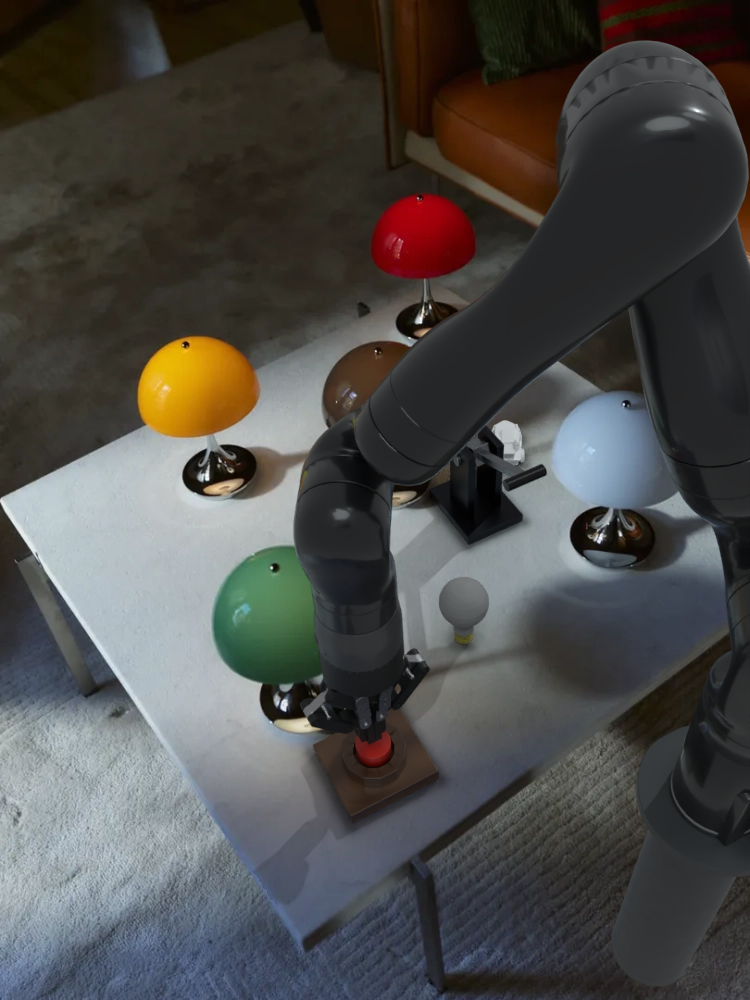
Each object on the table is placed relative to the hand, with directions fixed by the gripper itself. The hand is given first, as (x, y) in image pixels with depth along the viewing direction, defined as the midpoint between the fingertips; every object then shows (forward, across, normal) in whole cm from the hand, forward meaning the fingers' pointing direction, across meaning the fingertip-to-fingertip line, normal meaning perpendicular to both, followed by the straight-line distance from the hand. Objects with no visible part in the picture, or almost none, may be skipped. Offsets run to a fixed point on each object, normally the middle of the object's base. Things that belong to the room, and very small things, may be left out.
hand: (371, 734), depth 94 cm
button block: (+6, 0, 0) cm, 6 cm away
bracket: (+6, +28, +26) cm, 39 cm away
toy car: (+6, +37, +33) cm, 50 cm away
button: (+3, 0, 0) cm, 3 cm away
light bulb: (+6, +16, +9) cm, 20 cm away
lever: (-5, +28, +21) cm, 35 cm away
